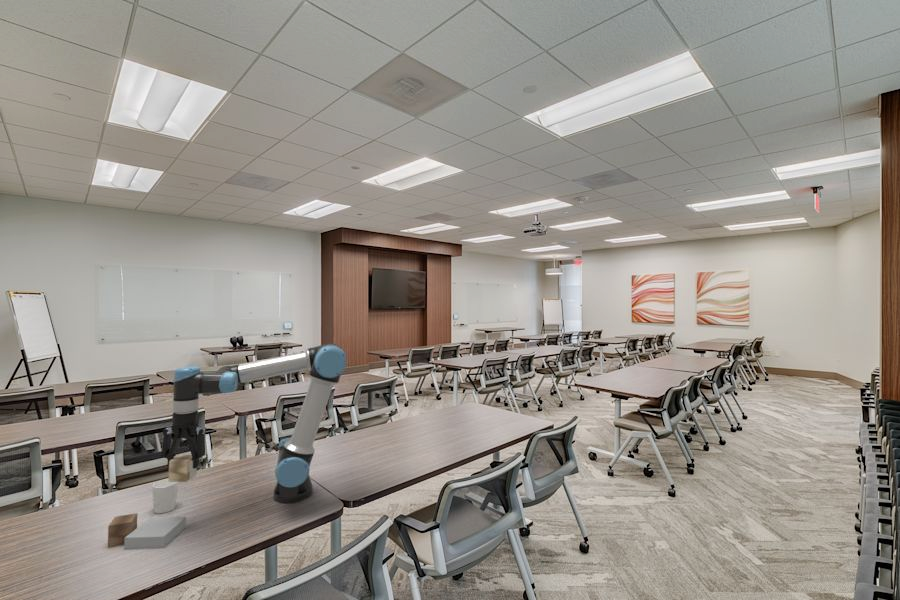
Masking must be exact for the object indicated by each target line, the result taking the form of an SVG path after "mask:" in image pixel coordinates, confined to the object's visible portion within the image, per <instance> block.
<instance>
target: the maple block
mask: <svg viewBox="0 0 900 600" xmlns="http://www.w3.org/2000/svg"><path fill="white" fill-rule="evenodd" d="M175 457H176V458H174V459H172V460H170V461H169V468H168V478H167V479H168V482H178V483H183V482H184V483H186V482H188V481H190V480H191V479H189V474H190V460H191V459H192V455H191V454H179V455H178V456H177V455H176V456H175ZM197 473H198V467H197V468H196V475H198V474H197Z"/></svg>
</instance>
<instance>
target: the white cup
mask: <svg viewBox="0 0 900 600" xmlns="http://www.w3.org/2000/svg"><path fill="white" fill-rule="evenodd" d="M178 484H179V482H168V478H165V479H162V480H159V481H157V482H154V483H153V484H152V501H153V502H152V503H153V512H154V514H166V513H169V512H171V511H172V510H175V508H177V499H178V490H179V489H178V486H179V485H178Z"/></svg>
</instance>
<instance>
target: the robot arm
mask: <svg viewBox="0 0 900 600" xmlns="http://www.w3.org/2000/svg"><path fill="white" fill-rule="evenodd" d="M347 361H348V360H347V356H346V352H345V351H344V350H343V349H342V347H340V346H338V345H337V344H336V343H331V342H330V343H329V342H328V343H324V344H322V345H321V344H320V345H319V346H318V345H317V346H313V347H308V348H306V350H305V351H301V352H295V353H291V354H287V355H280V356H275V357H269V358H265V359H260V360H254V361H249V362H244V363H239V364H234V365H224V366H222V367H220V368H219V369H217V371H214V372H213V371H212V372H211V371H210V372H202V371H201V369H200V368H201V367H199V366H182V367H178V368H176V369H175V371H174V380H173V399H172V400H173V401H172V412H173V413H172V418H171V421H172V425H171V426H169V427H166V428H164V429H163V430H162V434H163V440H162V448H161V449H162V450H161V458H162V459H164V458H165V459H167V469H169V461H170V460H172V459H174V458H176V457H177V455H176V453H177V451H178V448H179V446H180V443H181V440H182V439H185V440H186V442H187V444H188V448H189V452H190V455H192V459H191V460H190V474H189V479H190V480H192V479H194V478H195V477H196V468H197V469H198V468H199V465H200V458H203V457H204V456H206V432H207V427H200V426H199V424H198V421H199V419H198V418H199V410H198V409H199V397H200V395H203V394H228V393H229V394H230V393H235V392H236V391H237V389H238V385H240V384H243V383H248V382H252V381H253V382H254V381H258V380H262V379H267V378H273V377H277V376H282V375H283V376H284V375H287V374H292V373H297V372H301V371H307V370H308V371H309V374H308V376H309V379H310V383H309V385H308V389H307V391H306V395H305V397H304V400H303V402H302V406H301V409H300V412H299V414H298V417H297V420H296V423H295V425H294V427H293V428H294V429H293V431H292V435H291V437H286V438H285V437H284V438H282V439H280V441H279V443H278V447H277V448H278V457H277V463H276V467H275V470H274V472H275V473H274V474H275V479H276V484H275V486H274V489H273V497H272V498H273V500H274V501H275V502H278V503H282V504H284V503H285V504H288V503H289V504H291V503H296V502H300V501H303V500H306V499H307V498H309V497H310V496H312V494H313V492H314V485H313V482H312V480H311V476H310V466H311V463H312V460H313V457H314V455H315V451H316V450H315V448H314V446H313V445H314V442H315V439H316V436H317V433H318V430H319V427H320V425H321V422H322V419H323V417H324V413H325V411H326V408H327V406H328V405H327V404H328V402H329V398H330V396H331V393H332V390H333V387H334V386H335V385H337V384H339V381H340V378H341V376H342V374H343V372H344V371H345V369H346V366H347V363H348V362H347ZM195 433H196V434H195ZM172 434H174V436H173V438H172ZM196 435H197V436H196Z"/></svg>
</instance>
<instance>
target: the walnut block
mask: <svg viewBox="0 0 900 600" xmlns="http://www.w3.org/2000/svg"><path fill="white" fill-rule="evenodd" d="M137 528H138V513H137V512H135V513H130V514H124V515H118V516H115V517H114V518H113V519H112V520H111V522H110V523H109V525H108V526H107V531H108V532H107V533H108V534H107V548H115V547H119V546H124V542H125V537H126V536H128V535H129V534H130V533H131V532H133V531H134V530H135V529H137Z"/></svg>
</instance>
